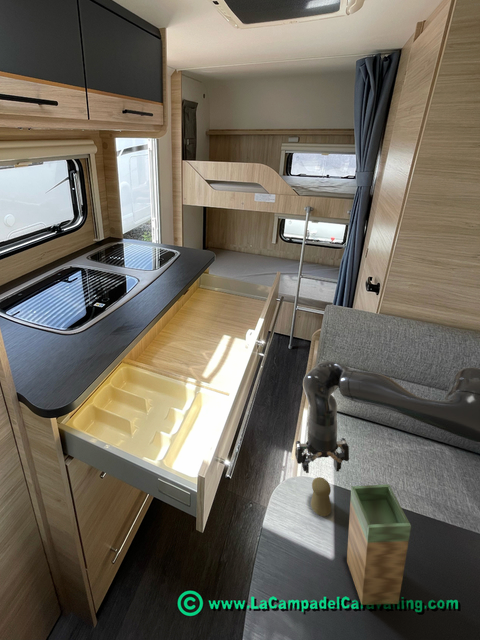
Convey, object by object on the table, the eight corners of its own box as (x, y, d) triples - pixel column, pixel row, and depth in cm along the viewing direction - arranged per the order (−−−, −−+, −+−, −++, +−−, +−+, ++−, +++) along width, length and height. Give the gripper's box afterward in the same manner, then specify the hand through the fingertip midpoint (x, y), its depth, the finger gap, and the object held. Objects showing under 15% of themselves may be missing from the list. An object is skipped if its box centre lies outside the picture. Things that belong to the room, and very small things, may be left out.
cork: (335, 515, 97) (336, 491, 93) (316, 521, 96) (317, 496, 92) (324, 495, 102) (325, 471, 99) (306, 500, 102) (306, 476, 98)
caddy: (379, 561, 86) (389, 484, 75) (398, 605, 78) (411, 525, 67) (346, 562, 86) (351, 486, 76) (361, 606, 78) (368, 527, 68)
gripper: (299, 441, 85) (300, 483, 90) (355, 438, 84) (352, 481, 89) (292, 418, 92) (293, 458, 97) (343, 414, 91) (341, 455, 96)
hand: (321, 469), depth 93 cm, fingers open, 8 cm apart
